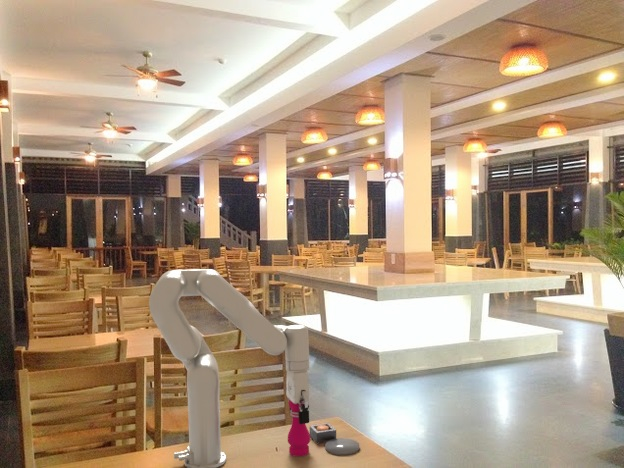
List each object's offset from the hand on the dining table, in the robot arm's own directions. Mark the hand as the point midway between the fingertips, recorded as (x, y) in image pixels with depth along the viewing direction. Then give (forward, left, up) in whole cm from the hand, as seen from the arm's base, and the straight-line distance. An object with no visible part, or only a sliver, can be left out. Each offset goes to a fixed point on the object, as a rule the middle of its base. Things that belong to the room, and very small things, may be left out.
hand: (299, 418), depth 180 cm
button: (+11, +8, -10) cm, 17 cm away
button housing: (+11, +8, -11) cm, 17 cm away
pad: (+14, -2, -11) cm, 18 cm away
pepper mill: (0, 0, -11) cm, 11 cm away
